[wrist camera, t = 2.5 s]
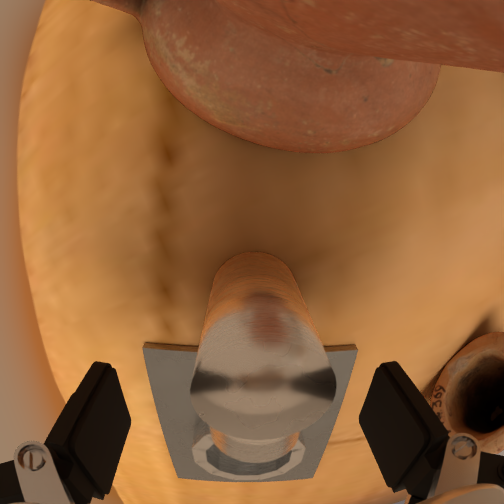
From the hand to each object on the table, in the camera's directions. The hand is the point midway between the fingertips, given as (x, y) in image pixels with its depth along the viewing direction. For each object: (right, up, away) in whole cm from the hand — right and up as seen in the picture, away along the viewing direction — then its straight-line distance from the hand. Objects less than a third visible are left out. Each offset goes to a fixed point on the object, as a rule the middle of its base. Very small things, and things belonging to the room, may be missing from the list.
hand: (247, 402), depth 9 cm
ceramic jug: (+2, +17, +3) cm, 18 cm away
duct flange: (0, -10, +11) cm, 15 cm away
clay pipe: (+22, -9, +12) cm, 27 cm away
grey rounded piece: (0, +2, +8) cm, 8 cm away
